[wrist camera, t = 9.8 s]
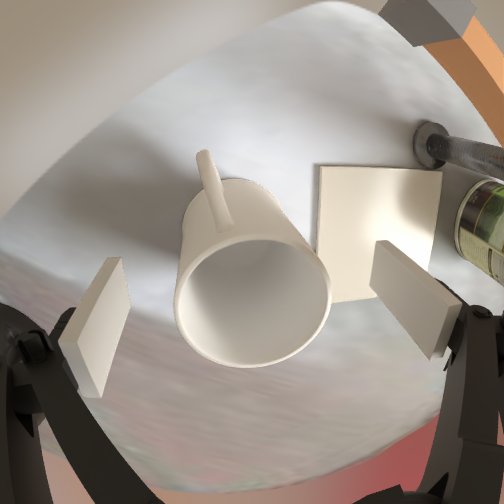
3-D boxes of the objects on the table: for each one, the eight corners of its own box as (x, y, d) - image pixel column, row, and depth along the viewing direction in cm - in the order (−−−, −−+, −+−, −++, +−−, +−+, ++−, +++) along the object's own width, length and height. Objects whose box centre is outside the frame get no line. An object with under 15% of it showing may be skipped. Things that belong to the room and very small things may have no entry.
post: (411, 165, 26) (502, 199, 16) (413, 119, 25) (509, 134, 14) (444, 168, 27) (532, 201, 16) (447, 125, 25) (539, 144, 15)
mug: (158, 154, 23) (119, 186, 12) (265, 128, 24) (316, 137, 13) (198, 285, 28) (198, 384, 17) (291, 261, 29) (341, 348, 18)
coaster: (311, 302, 31) (313, 305, 30) (319, 165, 25) (322, 167, 25) (419, 287, 32) (422, 289, 32) (439, 170, 27) (442, 172, 26)
